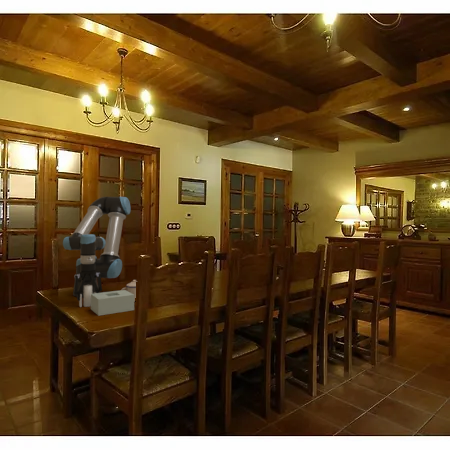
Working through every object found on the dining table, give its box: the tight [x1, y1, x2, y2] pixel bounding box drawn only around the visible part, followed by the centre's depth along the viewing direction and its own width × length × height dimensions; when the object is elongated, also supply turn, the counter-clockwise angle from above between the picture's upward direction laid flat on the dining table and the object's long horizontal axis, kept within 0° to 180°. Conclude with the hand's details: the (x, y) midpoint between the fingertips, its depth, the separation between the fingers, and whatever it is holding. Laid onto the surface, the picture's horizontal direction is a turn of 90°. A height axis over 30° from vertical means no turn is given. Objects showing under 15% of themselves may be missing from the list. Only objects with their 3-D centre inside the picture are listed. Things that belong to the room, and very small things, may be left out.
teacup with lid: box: [121, 279, 137, 303], centre depth 197 cm, size 12×9×12 cm
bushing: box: [83, 285, 92, 308], centre depth 184 cm, size 4×4×11 cm
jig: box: [90, 289, 135, 317], centre depth 176 cm, size 14×18×8 cm
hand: (87, 305), depth 184 cm, fingers open, 7 cm apart
